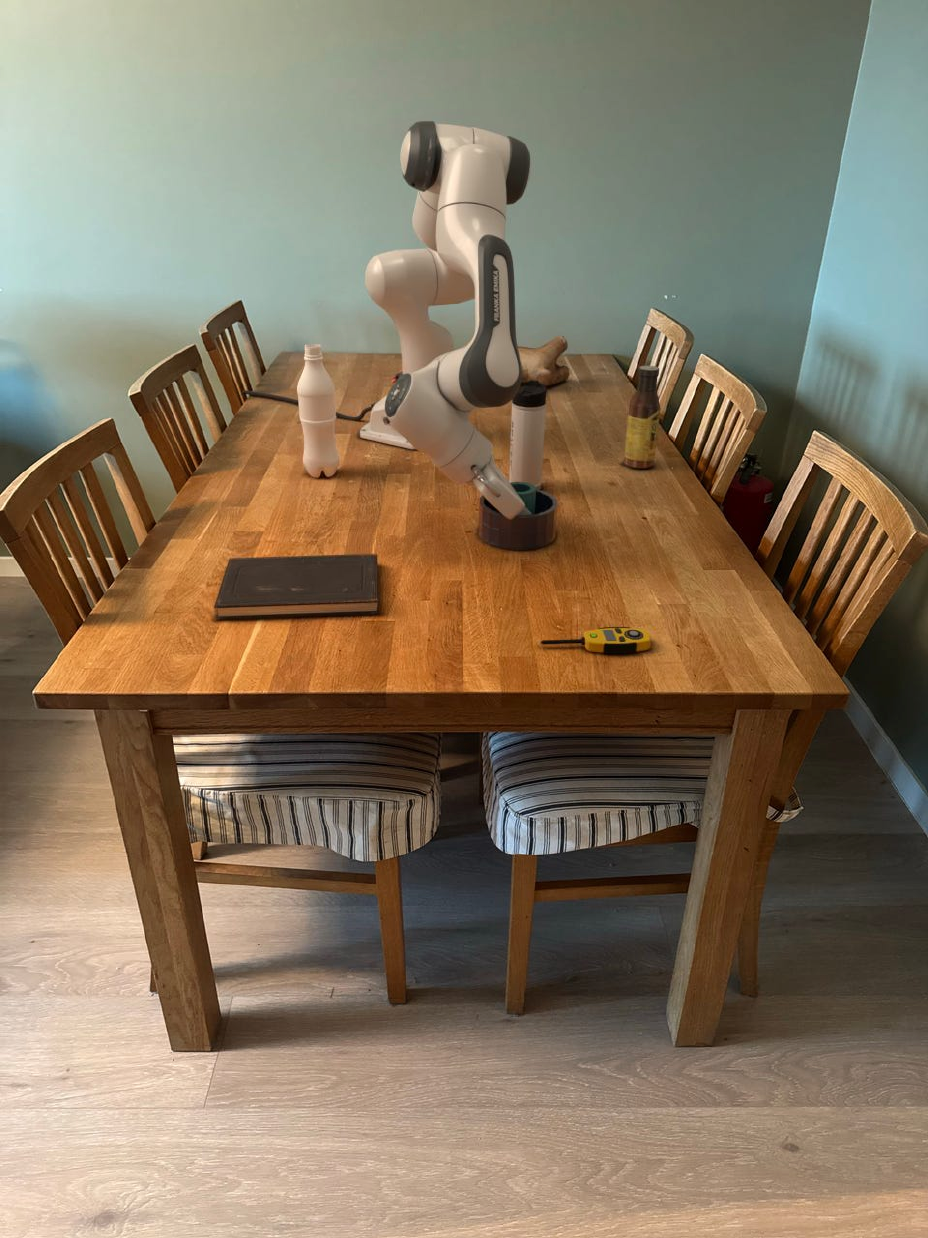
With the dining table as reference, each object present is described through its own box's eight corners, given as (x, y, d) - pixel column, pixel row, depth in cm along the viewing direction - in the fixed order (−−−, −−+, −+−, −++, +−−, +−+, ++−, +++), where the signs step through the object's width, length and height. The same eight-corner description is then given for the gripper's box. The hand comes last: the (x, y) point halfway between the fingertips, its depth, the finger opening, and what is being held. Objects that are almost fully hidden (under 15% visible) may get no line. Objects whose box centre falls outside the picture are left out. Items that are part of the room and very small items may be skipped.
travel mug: (545, 483, 172) (551, 381, 162) (536, 495, 166) (542, 390, 156) (514, 479, 173) (518, 378, 163) (504, 491, 168) (508, 387, 158)
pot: (467, 542, 148) (468, 509, 145) (493, 513, 159) (494, 482, 156) (543, 555, 144) (545, 522, 141) (563, 525, 155) (566, 493, 152)
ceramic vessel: (483, 312, 243) (427, 339, 227) (579, 337, 229) (527, 368, 213) (482, 357, 251) (428, 386, 235) (575, 384, 237) (524, 417, 221)
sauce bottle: (653, 471, 178) (665, 373, 168) (622, 468, 179) (632, 371, 169) (653, 460, 184) (665, 364, 174) (623, 458, 185) (633, 362, 175)
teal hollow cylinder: (496, 535, 150) (498, 491, 146) (507, 522, 154) (508, 479, 150) (527, 540, 148) (530, 495, 144) (537, 527, 152) (539, 484, 148)
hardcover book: (378, 614, 127) (377, 600, 126) (216, 620, 125) (214, 606, 124) (377, 564, 140) (377, 551, 139) (231, 569, 139) (229, 556, 137)
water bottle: (346, 470, 177) (339, 343, 164) (327, 482, 171) (318, 351, 159) (316, 464, 179) (307, 339, 167) (296, 476, 174) (285, 347, 161)
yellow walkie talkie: (654, 641, 117) (543, 644, 116) (653, 653, 118) (542, 656, 117) (645, 623, 121) (538, 626, 120) (644, 635, 122) (537, 638, 121)
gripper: (495, 464, 133) (553, 519, 140) (466, 423, 150) (519, 474, 157) (466, 494, 134) (525, 547, 141) (441, 450, 151) (494, 499, 158)
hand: (521, 508), depth 149 cm, fingers open, 6 cm apart
